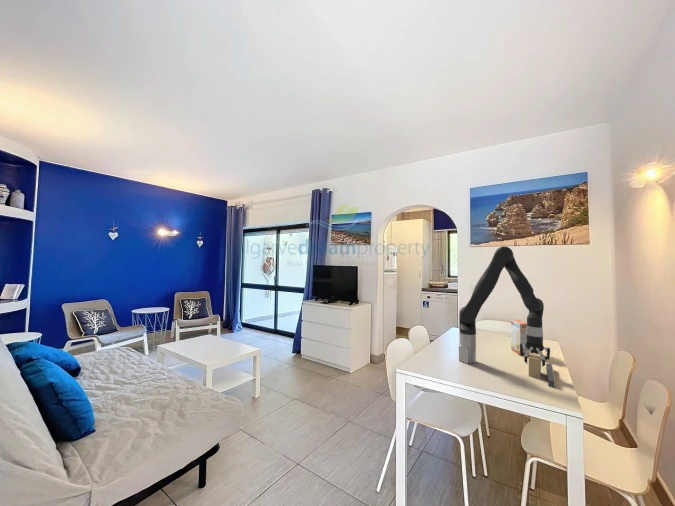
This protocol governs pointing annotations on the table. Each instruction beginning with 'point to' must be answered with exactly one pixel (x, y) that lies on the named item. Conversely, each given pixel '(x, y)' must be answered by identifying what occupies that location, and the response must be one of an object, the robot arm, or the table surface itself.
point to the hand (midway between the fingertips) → (534, 364)
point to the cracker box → (518, 335)
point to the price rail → (550, 375)
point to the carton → (534, 365)
